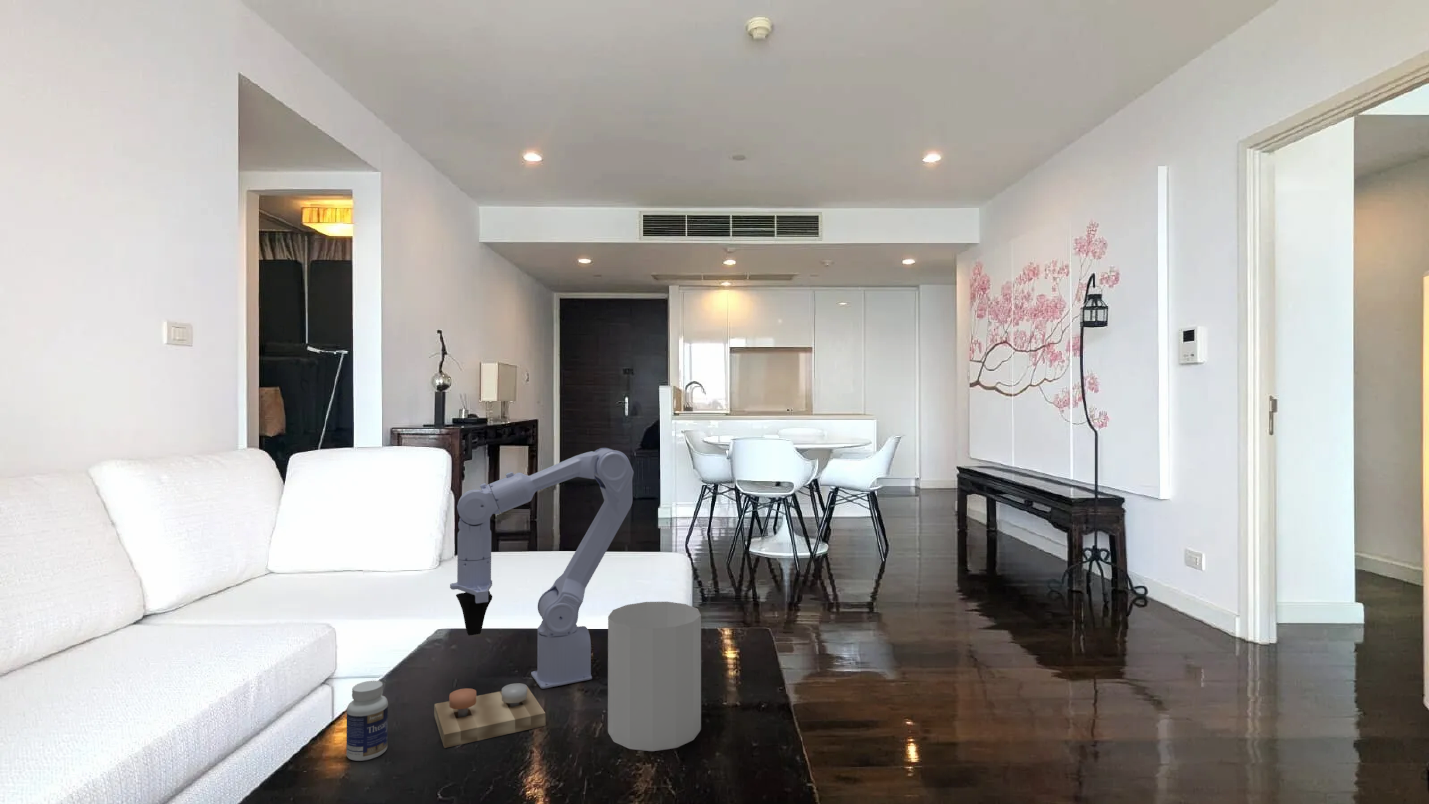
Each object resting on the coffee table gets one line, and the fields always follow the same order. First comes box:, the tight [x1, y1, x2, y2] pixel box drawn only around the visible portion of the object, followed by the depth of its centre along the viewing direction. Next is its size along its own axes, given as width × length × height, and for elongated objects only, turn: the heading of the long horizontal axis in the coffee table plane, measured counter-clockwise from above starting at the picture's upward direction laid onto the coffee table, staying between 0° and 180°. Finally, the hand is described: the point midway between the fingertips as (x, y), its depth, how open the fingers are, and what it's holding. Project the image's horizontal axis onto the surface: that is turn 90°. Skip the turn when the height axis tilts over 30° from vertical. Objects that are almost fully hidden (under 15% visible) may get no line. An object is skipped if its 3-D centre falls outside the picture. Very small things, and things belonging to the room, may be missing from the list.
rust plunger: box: [448, 687, 477, 718], centre depth 108 cm, size 4×4×4 cm
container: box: [607, 601, 702, 752], centre depth 108 cm, size 14×14×18 cm
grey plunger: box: [501, 682, 528, 707], centre depth 112 cm, size 4×4×4 cm
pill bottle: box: [345, 680, 389, 762], centre depth 100 cm, size 5×5×10 cm
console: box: [433, 686, 546, 749], centre depth 110 cm, size 15×12×2 cm
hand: (473, 633), depth 122 cm, fingers closed
